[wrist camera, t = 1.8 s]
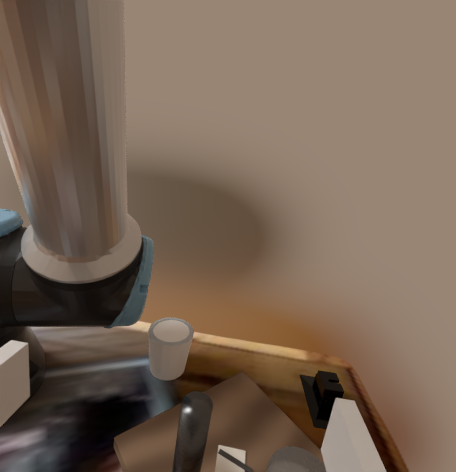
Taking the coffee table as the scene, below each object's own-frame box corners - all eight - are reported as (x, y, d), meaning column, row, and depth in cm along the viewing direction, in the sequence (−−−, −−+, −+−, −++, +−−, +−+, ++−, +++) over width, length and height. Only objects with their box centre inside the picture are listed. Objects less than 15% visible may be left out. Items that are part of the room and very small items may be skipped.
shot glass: (167, 391, 41) (172, 352, 39) (135, 367, 44) (138, 329, 42) (197, 365, 46) (202, 330, 44) (167, 345, 50) (171, 311, 48)
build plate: (361, 448, 38) (372, 423, 37) (308, 440, 38) (316, 414, 36) (332, 376, 50) (339, 355, 48) (291, 370, 50) (297, 348, 48)
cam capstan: (309, 457, 33) (342, 360, 29) (346, 534, 27) (395, 424, 22) (163, 481, 28) (177, 370, 24) (166, 581, 22) (186, 454, 18)
